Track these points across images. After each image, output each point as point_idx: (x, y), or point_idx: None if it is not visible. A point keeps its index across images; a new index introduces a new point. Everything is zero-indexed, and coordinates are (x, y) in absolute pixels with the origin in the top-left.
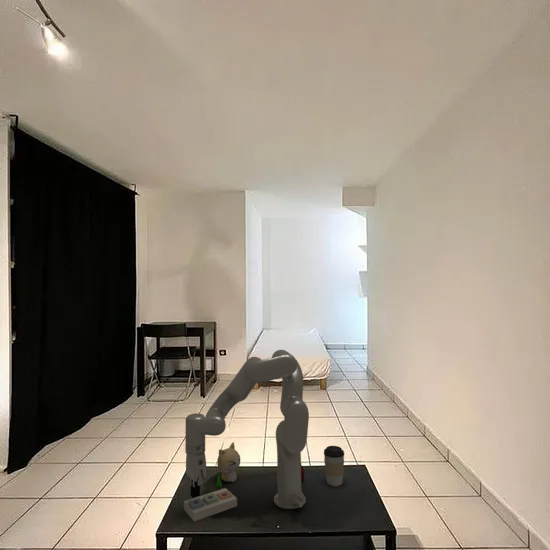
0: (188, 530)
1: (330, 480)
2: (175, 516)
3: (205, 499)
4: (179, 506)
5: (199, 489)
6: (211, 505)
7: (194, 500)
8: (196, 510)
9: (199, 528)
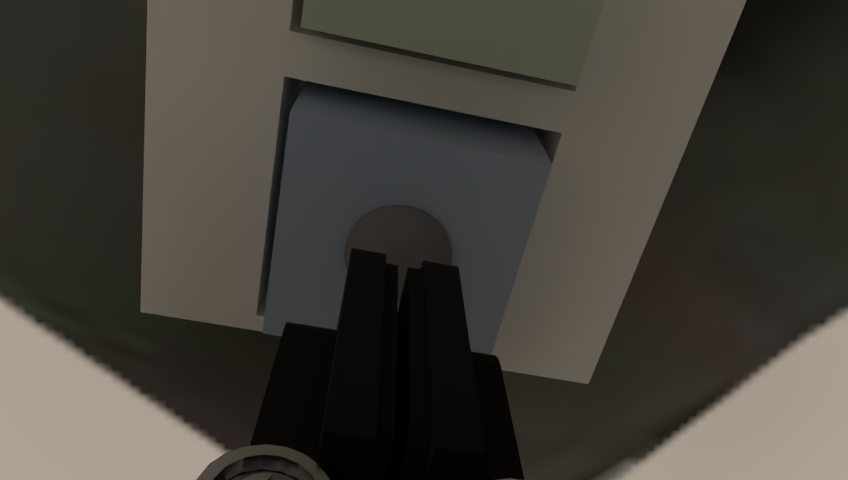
0: (649, 432)
1: None
2: None
3: (461, 60)
4: (57, 245)
5: (468, 372)
6: (665, 40)
7: (319, 242)
8: (558, 320)
9: (736, 340)
